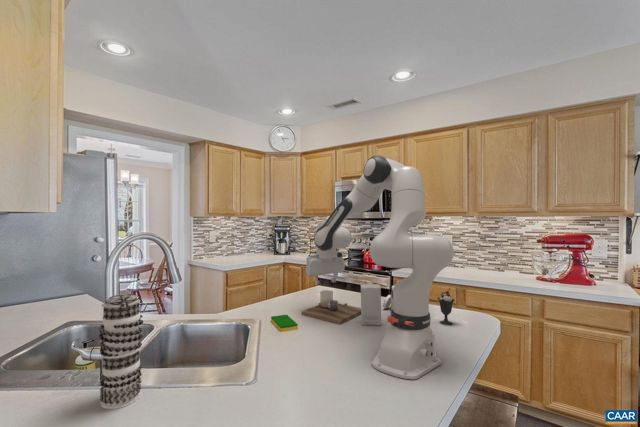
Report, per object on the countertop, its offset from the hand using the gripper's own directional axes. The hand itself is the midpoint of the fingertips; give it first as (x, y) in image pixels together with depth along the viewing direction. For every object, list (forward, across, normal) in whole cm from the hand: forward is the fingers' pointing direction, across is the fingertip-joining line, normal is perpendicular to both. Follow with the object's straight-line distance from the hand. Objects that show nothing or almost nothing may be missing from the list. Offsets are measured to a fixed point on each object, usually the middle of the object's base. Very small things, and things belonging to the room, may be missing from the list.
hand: (325, 283), depth 150 cm
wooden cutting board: (+13, 0, -6) cm, 14 cm away
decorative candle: (+14, -82, -33) cm, 90 cm away
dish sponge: (+14, -26, -8) cm, 30 cm away
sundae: (+13, +32, -42) cm, 55 cm away
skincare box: (+13, +6, -25) cm, 29 cm away
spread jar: (+13, +27, -18) cm, 35 cm away
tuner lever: (+11, +1, -2) cm, 11 cm away
